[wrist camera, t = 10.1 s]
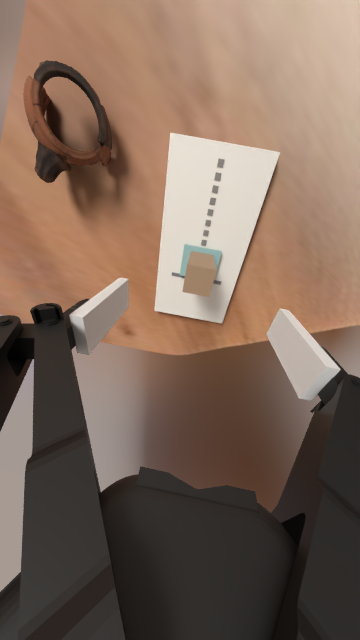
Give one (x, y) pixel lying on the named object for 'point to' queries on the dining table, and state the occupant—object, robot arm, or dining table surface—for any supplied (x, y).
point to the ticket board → (209, 217)
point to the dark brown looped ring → (48, 144)
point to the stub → (199, 269)
